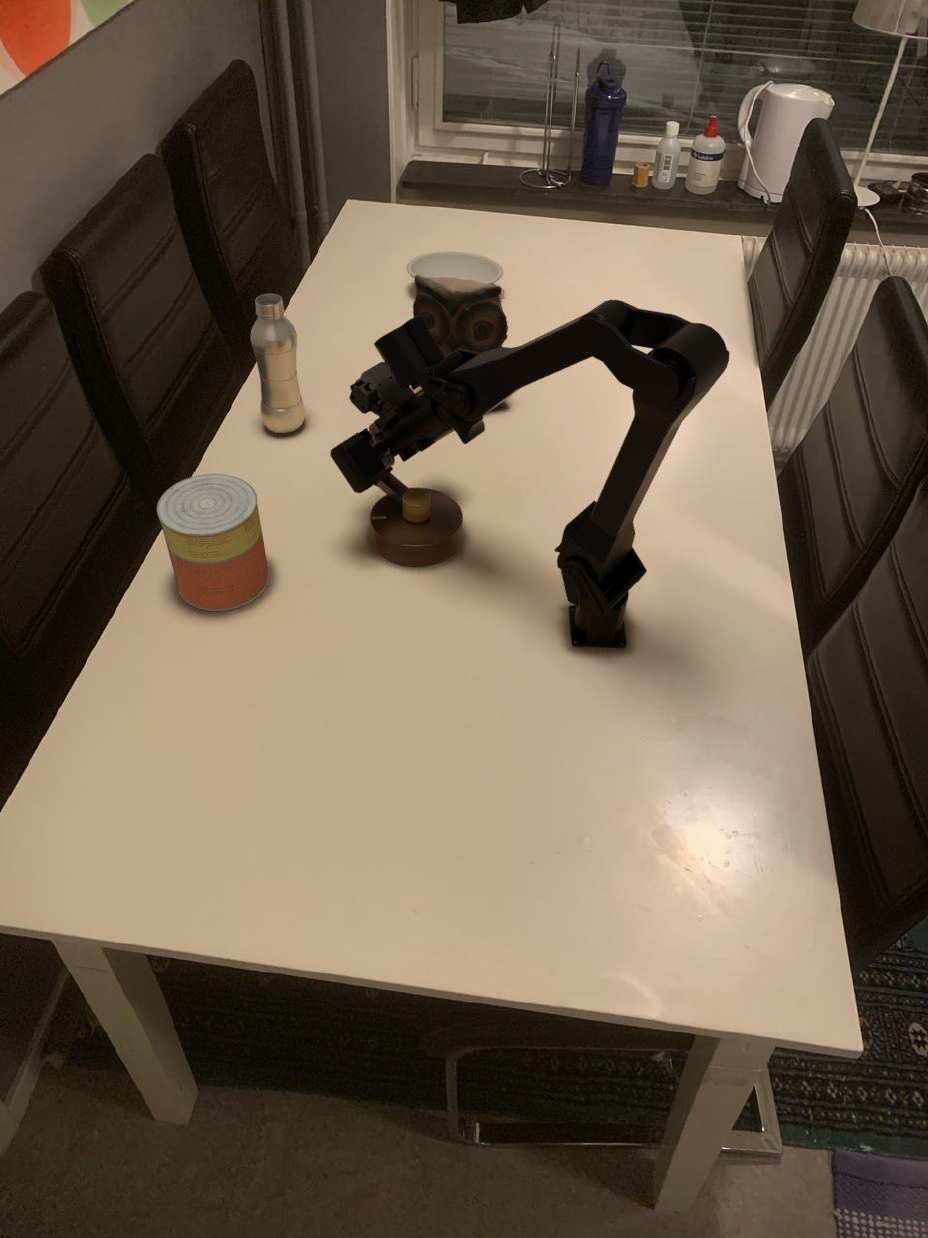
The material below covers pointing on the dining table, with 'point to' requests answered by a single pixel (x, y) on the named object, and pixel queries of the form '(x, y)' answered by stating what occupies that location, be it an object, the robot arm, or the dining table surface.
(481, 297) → the owl
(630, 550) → the robot arm
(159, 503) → the canned food
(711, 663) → the dining table surface
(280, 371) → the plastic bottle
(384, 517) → the crank base
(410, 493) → the crank handle
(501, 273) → the dish
